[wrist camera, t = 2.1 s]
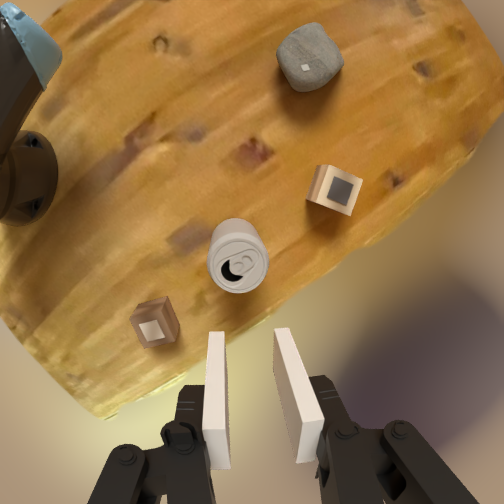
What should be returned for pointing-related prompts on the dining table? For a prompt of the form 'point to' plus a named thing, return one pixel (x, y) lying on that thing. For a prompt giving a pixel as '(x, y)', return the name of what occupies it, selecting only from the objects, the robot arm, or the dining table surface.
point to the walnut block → (155, 322)
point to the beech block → (334, 189)
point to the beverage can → (237, 256)
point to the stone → (309, 58)
